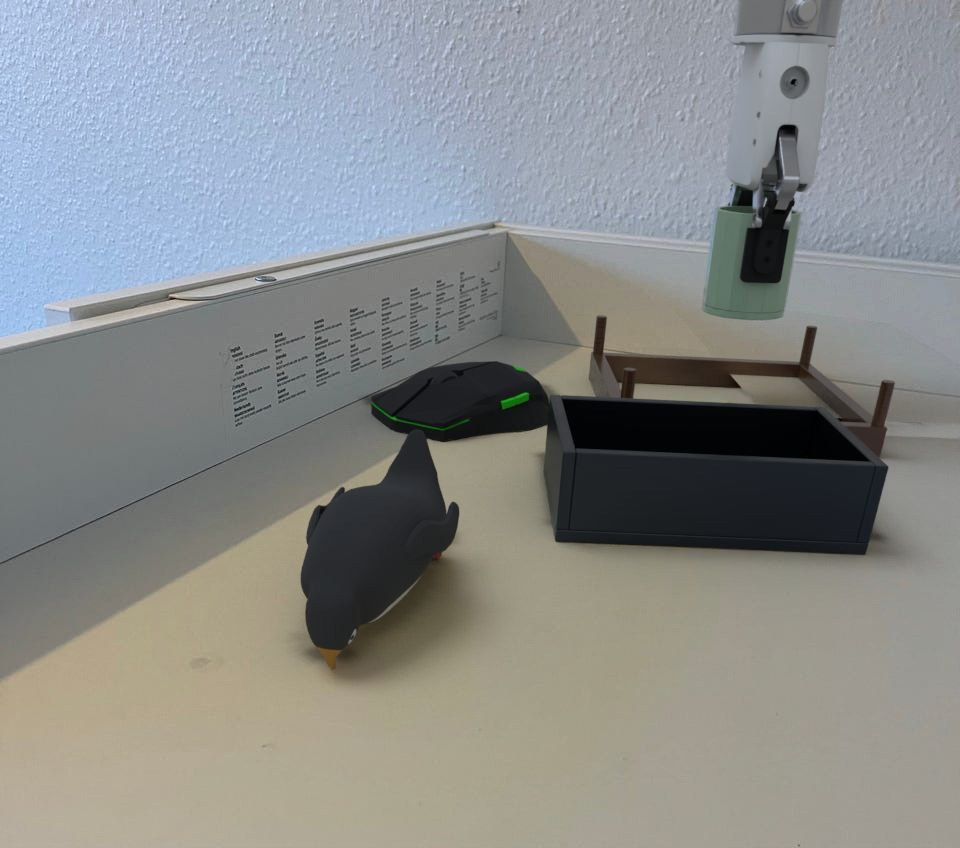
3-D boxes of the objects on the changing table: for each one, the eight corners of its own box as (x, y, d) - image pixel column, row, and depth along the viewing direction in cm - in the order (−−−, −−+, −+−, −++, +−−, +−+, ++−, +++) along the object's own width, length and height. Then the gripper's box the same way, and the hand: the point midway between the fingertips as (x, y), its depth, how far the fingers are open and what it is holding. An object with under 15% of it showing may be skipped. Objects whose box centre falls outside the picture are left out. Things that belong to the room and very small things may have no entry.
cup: (771, 305, 87) (788, 207, 83) (793, 321, 81) (812, 215, 77) (695, 303, 87) (707, 204, 83) (710, 319, 81) (725, 213, 77)
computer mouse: (587, 415, 86) (592, 369, 84) (445, 450, 76) (447, 399, 74) (496, 386, 93) (498, 342, 91) (355, 415, 83) (354, 367, 81)
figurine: (354, 585, 60) (249, 664, 46) (362, 420, 57) (251, 451, 43) (471, 602, 59) (399, 689, 45) (486, 434, 56) (414, 472, 42)
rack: (803, 387, 98) (816, 325, 95) (880, 458, 79) (899, 383, 76) (588, 377, 97) (594, 314, 94) (614, 446, 79) (623, 370, 76)
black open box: (807, 484, 73) (824, 407, 70) (866, 555, 62) (889, 466, 59) (543, 472, 72) (549, 394, 70) (554, 541, 61) (563, 451, 59)
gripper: (877, 17, 66) (824, 294, 75) (803, 31, 81) (766, 260, 90) (766, 13, 66) (726, 291, 75) (712, 28, 81) (684, 258, 90)
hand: (748, 272), depth 82 cm, fingers closed on cup, 6 cm apart
